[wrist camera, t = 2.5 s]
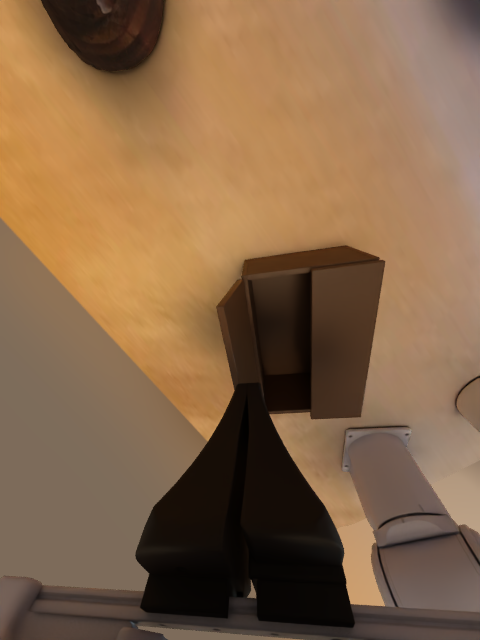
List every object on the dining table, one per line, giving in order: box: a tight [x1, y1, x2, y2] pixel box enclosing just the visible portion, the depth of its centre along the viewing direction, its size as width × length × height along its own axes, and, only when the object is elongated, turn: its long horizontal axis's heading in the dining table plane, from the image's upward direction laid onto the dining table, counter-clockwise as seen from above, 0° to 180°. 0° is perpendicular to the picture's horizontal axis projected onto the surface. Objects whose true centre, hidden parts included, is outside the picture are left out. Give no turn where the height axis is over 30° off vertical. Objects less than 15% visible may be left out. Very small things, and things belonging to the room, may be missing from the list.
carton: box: [241, 246, 385, 419], centre depth 19 cm, size 14×9×6 cm, turn 9°
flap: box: [216, 279, 258, 390], centre depth 15 cm, size 14×4×1 cm
